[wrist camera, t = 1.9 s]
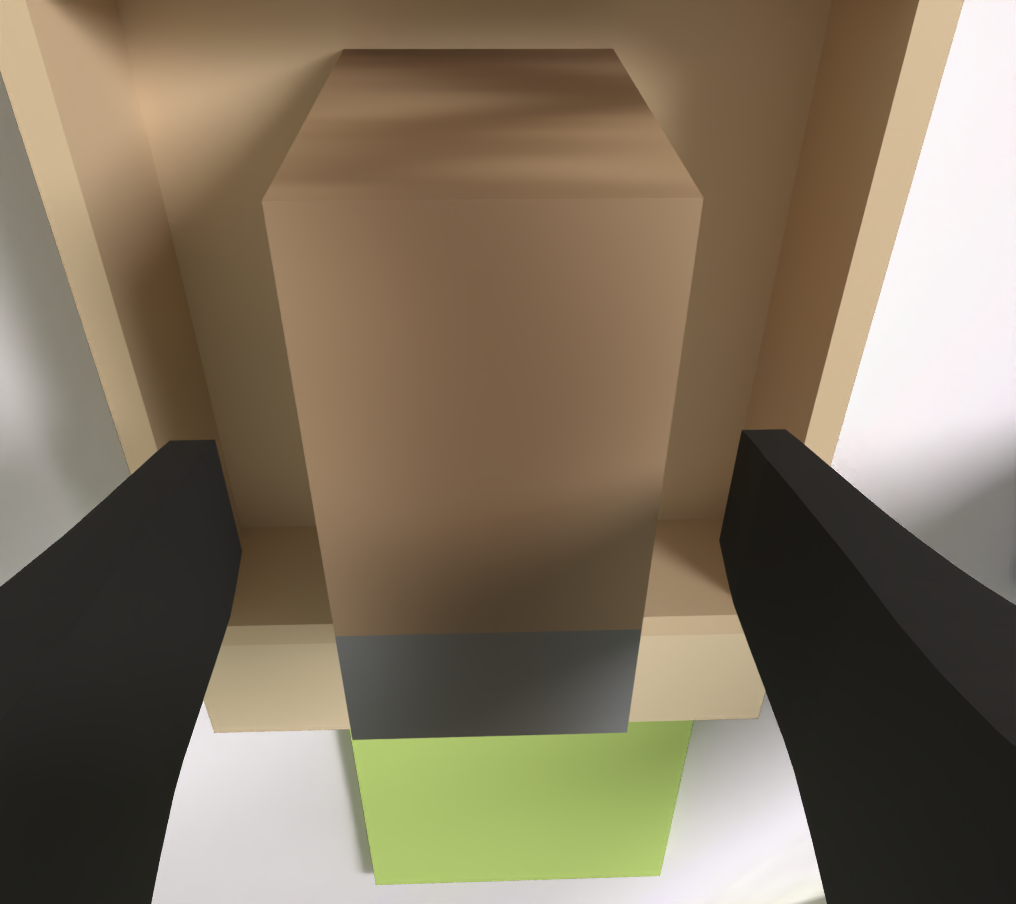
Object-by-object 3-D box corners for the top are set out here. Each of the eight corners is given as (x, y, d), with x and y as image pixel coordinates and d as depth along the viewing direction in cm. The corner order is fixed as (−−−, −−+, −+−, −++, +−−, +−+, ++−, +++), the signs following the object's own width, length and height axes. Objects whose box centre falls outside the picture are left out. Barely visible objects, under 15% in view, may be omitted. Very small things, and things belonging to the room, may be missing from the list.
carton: (937, -359, 12) (1082, -413, 9) (723, 609, 23) (757, 718, 21) (-8, -372, 11) (-162, -432, 9) (245, 620, 23) (214, 732, 20)
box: (613, 48, 14) (703, 197, 9) (582, 472, 20) (627, 732, 14) (343, 49, 14) (261, 200, 9) (386, 475, 20) (352, 740, 14)
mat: (704, 632, 24) (708, 649, 23) (656, 859, 31) (659, 875, 30) (340, 640, 24) (337, 657, 23) (377, 868, 31) (376, 884, 30)
